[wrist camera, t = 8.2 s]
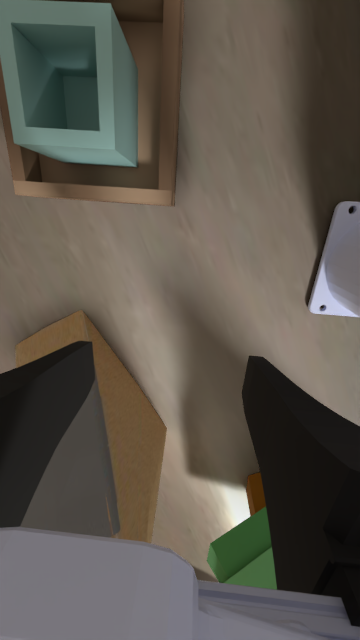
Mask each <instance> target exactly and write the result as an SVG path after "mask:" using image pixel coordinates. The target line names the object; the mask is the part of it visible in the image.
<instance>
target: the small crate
mask: <svg viewBox="0 0 360 640" xmlns="http://www.w3.org/2000/svg"><path fill="white" fill-rule="evenodd" d="M0 59H1V65H2V71H3V77H4V83H5V90H6V96H7V102H8V108H9V115H10V121H11V127H12V133H13V140H14V144H17V145H20V146H22V147H25V148H27V149H30V150H32V151H35V152H38V153H40V154H43V155H45V156H48V157H50V158H53V159H56V160H58V161H61V162H63V163H73V164H89V165H104V166H119V167H135V168H138V68H137V66H136V63H135V61H134V58H133V56H132V53H131V51H130V49H129V46H128V44H127V41H126V39H125V37H124V34H123V32H122V29H121V27H120V25H119V22H118V20H117V17H116V15H115V12H114V10H113V8H112V5H111V3H91V2H66V1H42V0H0Z"/></svg>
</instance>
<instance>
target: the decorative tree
mask: <svg viewBox="0 0 360 640" xmlns="http://www.w3.org/2000/svg"><path fill="white" fill-rule="evenodd" d="M246 492H247V498H248V504H249V509H250V515H251V517H249V518H248V519H246V520H245V521H243V522H242V523H240V524H239V525H237V526H236V527H234V528H233V529H231V530H230V531H228V532H227V533H225V534H224V535H222V536H221V537H219V538H218V539H216V540H215V541H213V542H212V543H210V548H209V553H208V558H207V562H208V564H209V565H210V567H211V569H212V571H213V572H214V574H215V576H216V578H217V579H218V581H219V583H226V584H234V585H242V586H251V587H259V588H267V589H275V590H277V585H276V576H275V568H274V559H273V552H272V545H271V537H270V530H269V523H268V516H267V510H266V503H265V497H264V491H263V485H262V479H261V473H260V472H259V473H256V474H253V475H249V476H248V481H247V489H246Z"/></svg>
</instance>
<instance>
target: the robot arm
mask: <svg viewBox="0 0 360 640" xmlns="http://www.w3.org/2000/svg"><path fill="white" fill-rule="evenodd" d="M351 206H353V208H354V209H353V212H352V213H351V214H349V208H350V207H351ZM322 305H324V308H323V309H320V310H319V308H320V306H322ZM308 309H309V311H311V312H312V313H316V314H328V315H341V316H353V317H360V202H351V201H344V202H340V203H339V204H338V205H337V206H336V208H335V210H334V214H333V217H332V221H331V225H330V228H329V232H328V236H327V239H326V243H325V246H324V250H323V254H322V257H321V261H320V264H319V268H318V272H317V275H316V279H315V282H314V286H313V290H312V293H311V297H310V300H309V304H308ZM94 381H95V368H94V356H93V344H92V342H90V341H77V342H74V343H71V344H69V345H67V346H65V347H63V348H60V349H58V350H56V351H54V352H52V353H50V354H48V355H45V356H43V357H41V358H39V359H37V360H34V361H32V362H29V363H27V364H25V365H22V366H20V367H18V368H15V369H13V370H10V371H7V372H5V373H2V374H0V640H360V426H358V425H356V424H354V423H352V422H350V421H349V420H347V419H345V418H343V417H342V416H340V415H338V414H337V413H335V412H334V411H332V410H331V409H329V408H327V407H326V406H324V405H323V404H321V403H320V402H318V401H317V400H315V399H314V398H313V397H311V396H310V395H309V394H307V393H306V392H305V391H303V390H302V389H301V388H299V387H298V386H297V385H296V384H294V383H293V382H292V381H291V380H290V379H288V378H287V377H286V376H285V375H284V374H283V373H281V372H280V371H279V370H278V369H277V368H276V367H274V366H273V365H272V364H271V363H270V362H269V361H267V360H266V359H265V358H264V357H258V356H249V359H248V364H247V369H246V374H245V379H244V384H243V389H242V398H243V405H244V412H245V416H246V420H247V424H248V427H249V431H250V435H251V438H252V442H253V445H254V449H255V453H256V456H257V460H258V464H259V468H260V473H261V479H262V485H263V491H264V497H265V503H266V510H267V516H268V523H269V530H270V537H271V545H272V552H273V559H274V568H275V576H276V585H277V590H275V589H267V588H259V587H251V586H242V585H234V584H226V583H218V582H209V581H202V580H197V578H196V575H195V572H194V569H193V567H192V566H191V565H190V563H189V562H188V561H186V560H185V559H184V558H182V557H181V556H179V555H178V554H177V553H175V552H174V551H173V550H171V549H169V548H165V547H162V546H158V545H154V544H151V543H147V542H142V541H134V540H125V539H117V538H108V537H100V536H92V535H83V534H75V533H66V532H58V531H50V530H41V529H33V528H24V527H20V526H21V523H22V521H23V519H24V516H25V514H26V512H27V509H28V507H29V505H30V502H31V500H32V498H33V496H34V493H35V491H36V489H37V487H38V485H39V483H40V480H41V478H42V476H43V474H44V472H45V470H46V468H47V466H48V464H49V462H50V460H51V457H52V455H53V453H54V451H55V449H56V448H57V446H58V444H59V442H60V440H61V439H62V437H63V436H64V434H65V432H66V431H67V429H68V428H69V426H70V424H71V423H72V421H73V420H74V418H75V416H76V415H77V413H78V412H79V410H80V408H81V407H82V405H83V403H84V402H85V400H86V398H87V397H88V394H89V392H90V390H91V388H92V385H93V383H94Z"/></svg>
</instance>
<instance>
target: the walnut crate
mask: <svg viewBox="0 0 360 640" xmlns="http://www.w3.org/2000/svg"><path fill="white" fill-rule="evenodd" d="M42 1H66V2H91V3H111V5H112V8H113V10H114V12H115V15H116V17H117V20H118V22H119V25H120V27H121V29H122V32H123V34H124V37H125V39H126V41H127V44H128V46H129V49H130V51H131V53H132V56H133V58H134V61H135V63H136V66H137V68H138V168H135V167H119V166H104V165H89V164H73V163H63V162H61V161H58V160H56V159H53V158H50V157H48V156H45V155H43V154H40V153H38V152H35V151H32V150H30V149H27V148H25V147H22V146H20V145H17V144H14V140H13V133H12V127H11V121H10V115H9V108H8V102H7V96H6V90H5V83H4V77H3V71H2V65H1V59H0V108H1V113H2V119H3V125H4V131H5V137H6V142H7V148H8V154H9V160H10V166H11V171H12V177H13V183H14V189H15V195H23V196H32V197H43V198H58V199H73V200H88V201H103V202H117V203H132V204H147V205H162V206H174V205H175V185H176V165H177V145H178V125H179V105H180V85H181V64H182V44H183V24H184V2H183V0H42Z"/></svg>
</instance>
